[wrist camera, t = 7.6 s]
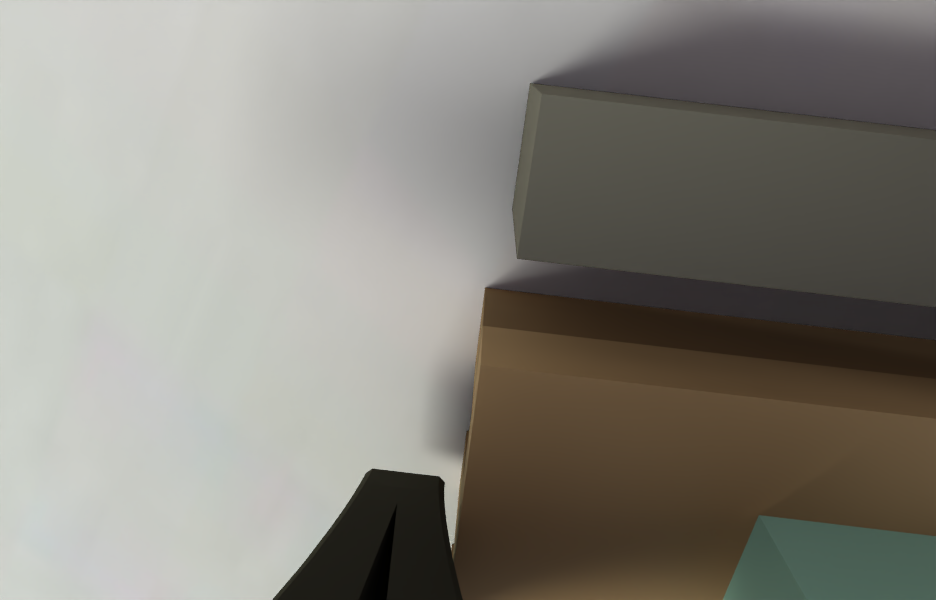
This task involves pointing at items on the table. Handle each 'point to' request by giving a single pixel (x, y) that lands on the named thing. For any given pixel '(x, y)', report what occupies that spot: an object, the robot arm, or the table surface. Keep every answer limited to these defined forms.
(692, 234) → the dock
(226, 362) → the table surface
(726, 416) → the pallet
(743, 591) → the block
